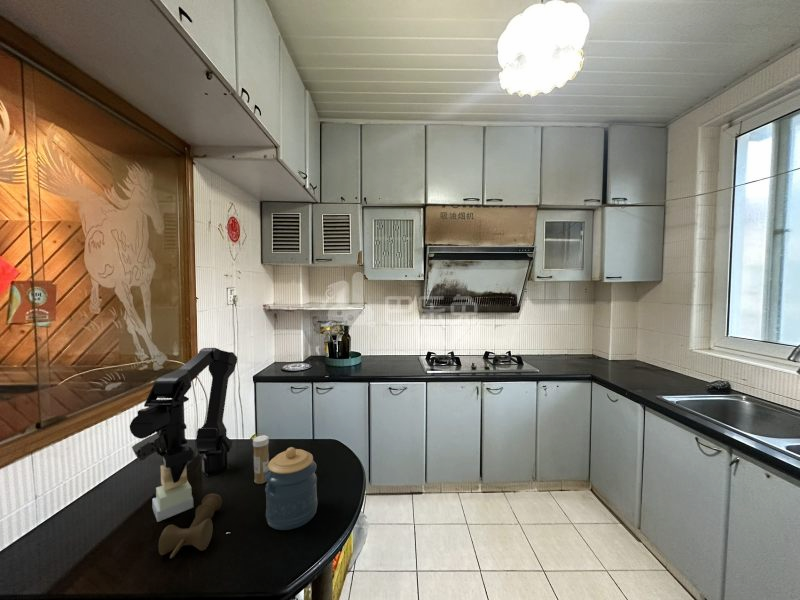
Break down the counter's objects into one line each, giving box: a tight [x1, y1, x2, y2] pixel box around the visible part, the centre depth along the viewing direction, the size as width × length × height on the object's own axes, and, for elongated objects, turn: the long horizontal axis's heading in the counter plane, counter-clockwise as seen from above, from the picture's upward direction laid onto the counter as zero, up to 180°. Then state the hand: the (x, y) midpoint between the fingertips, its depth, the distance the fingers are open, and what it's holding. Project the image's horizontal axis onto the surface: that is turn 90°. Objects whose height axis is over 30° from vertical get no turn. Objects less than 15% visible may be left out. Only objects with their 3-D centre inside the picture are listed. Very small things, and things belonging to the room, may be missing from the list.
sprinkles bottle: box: [252, 434, 270, 485], centre depth 101 cm, size 5×5×14 cm
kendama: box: [157, 492, 223, 559], centre depth 78 cm, size 6×10×20 cm
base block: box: [151, 496, 194, 523], centre depth 89 cm, size 8×8×3 cm
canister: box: [264, 446, 318, 531], centre depth 85 cm, size 13×13×18 cm
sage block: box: [155, 479, 193, 510], centre depth 89 cm, size 7×7×3 cm
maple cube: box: [160, 464, 188, 491], centre depth 89 cm, size 5×5×5 cm
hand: (173, 478), depth 89 cm, fingers open, 5 cm apart
